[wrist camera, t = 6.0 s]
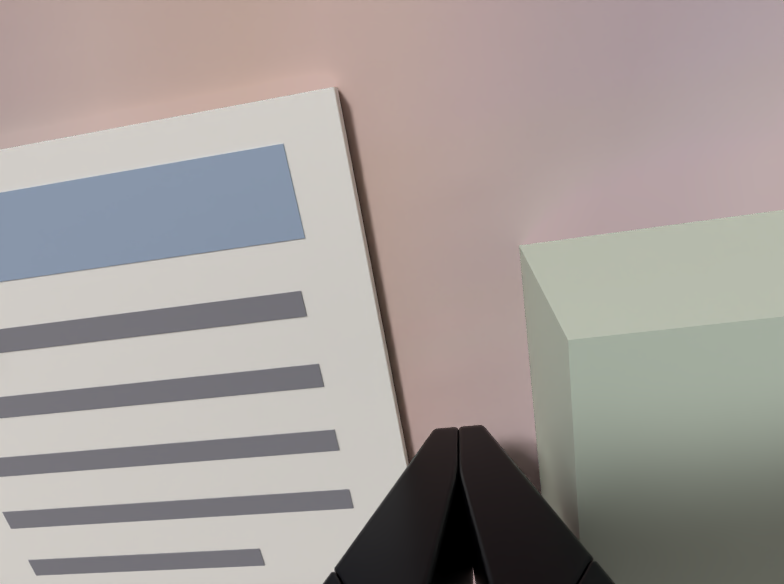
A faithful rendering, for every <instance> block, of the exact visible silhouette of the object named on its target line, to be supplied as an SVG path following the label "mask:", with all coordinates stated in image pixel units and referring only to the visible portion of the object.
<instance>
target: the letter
mask: <svg viewBox="0 0 784 584" xmlns="http://www.w3.org/2000/svg"><path fill="white" fill-rule="evenodd" d="M408 465H409V462H408V457H407V451H406V446H405V441H404V436H403V430H402V425H401V420H400V414H399V409H398V404H397V399H396V393H395V388H394V383H393V378H392V372H391V367H390V362H389V356H388V351H387V346H386V341H385V335H384V330H383V325H382V320H381V314H380V309H379V304H378V298H377V293H376V288H375V283H374V277H373V272H372V267H371V262H370V256H369V251H368V246H367V240H366V235H365V230H364V225H363V219H362V214H361V209H360V204H359V198H358V193H357V188H356V182H355V177H354V172H353V167H352V161H351V156H350V151H349V146H348V140H347V135H346V130H345V125H344V119H343V114H342V109H341V103H340V98H339V93H338V88H337V87H331V88H326V89H320V90H315V91H310V92H304V93H299V94H294V95H288V96H283V97H278V98H272V99H267V100H262V101H256V102H251V103H246V104H240V105H235V106H230V107H224V108H219V109H214V110H208V111H203V112H198V113H192V114H187V115H182V116H176V117H171V118H166V119H160V120H155V121H150V122H145V123H139V124H134V125H129V126H123V127H118V128H113V129H107V130H102V131H97V132H91V133H86V134H81V135H75V136H70V137H65V138H59V139H54V140H49V141H43V142H38V143H33V144H27V145H22V146H17V147H11V148H6V149H1V150H0V584H323V583H324V581H325V580H326V579H327V577H328V576H329V574H330V573H331V572H334V568H335V566H336V565H337V564H338V562H339V561H340V559H341V558H342V557H343V555H344V554H345V552H346V551H347V550H348V548H349V547H350V546H351V544H352V543H353V541H354V540H355V539H356V537H357V536H358V534H359V533H360V532H361V530H362V529H363V527H364V526H365V525H366V523H367V522H368V520H369V519H370V518H371V516H372V515H373V514H374V512H375V511H376V509H377V508H378V507H379V505H380V504H381V502H382V501H383V500H384V498H385V497H386V495H387V494H388V493H389V491H390V490H391V488H392V487H393V486H394V484H395V483H396V481H397V480H398V479H399V477H400V476H401V475H402V473H403V472H404V470H405V469H406V468H407V466H408Z"/></svg>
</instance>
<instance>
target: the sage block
mask: <svg viewBox="0 0 784 584" xmlns="http://www.w3.org/2000/svg"><path fill="white" fill-rule="evenodd" d="M519 250H520V261H521V272H522V284H523V295H524V306H525V317H526V329H527V340H528V351H529V362H530V374H531V385H532V396H533V407H534V419H535V430H536V441H537V452H538V464H539V475H540V486H541V495H542V497H543V498H544V499H545V500H546V501H547V503H548V504H549V505H550V506H551V507H552V509H553V510H554V511H555V512H556V513H557V515H558V516H559V517H560V518H561V519H562V521H563V522H564V523H565V524H566V525H567V527H568V528H569V529H570V530H571V531H572V533H573V534H574V535H575V536H576V537H577V539H578V540H579V541H580V542H581V543H582V545H583V546H584V547H585V548H586V549H587V551H588V552H589V553H590V554H591V555H592V557H593V559H594V561H596V562H598V563H599V565H600V566H601V567H602V568H603V570H604V571H605V572H606V573H607V574H608V576H609V577H610V578H611V579H612V580H613V582H614V583H615V584H784V210H779V211H771V212H764V213H756V214H749V215H742V216H734V217H727V218H719V219H712V220H705V221H697V222H690V223H682V224H675V225H668V226H660V227H653V228H645V229H638V230H631V231H623V232H616V233H608V234H601V235H594V236H586V237H579V238H571V239H564V240H557V241H549V242H542V243H534V244H527V245H520V246H519Z"/></svg>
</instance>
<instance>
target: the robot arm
mask: <svg viewBox="0 0 784 584" xmlns="http://www.w3.org/2000/svg"><path fill="white" fill-rule="evenodd" d="M473 570H474V576H475V581H476V584H615V583H614V582H613V580H612V579H611V578H610V577H609V576H608V574H607V573H606V572H605V571H604V570H603V568H602V567H601V566H600V565H599V563H598V562H596V561H594V559H593V557H592V555H591V554H590V553H589V552H588V551H587V549H586V548H585V547H584V546H583V545H582V543H581V542H580V541H579V540H578V539H577V537H576V536H575V535H574V534H573V533H572V531H571V530H570V529H569V528H568V527H567V525H566V524H565V523H564V522H563V521H562V519H561V518H560V517H559V516H558V515H557V513H556V512H555V511H554V510H553V509H552V507H551V506H550V505H549V504H548V503H547V501H546V500H545V499H544V498H543V497H542V495H541V494H540V493H539V492H538V491H537V489H536V488H535V487H534V486H533V485H532V483H531V482H530V481H529V480H528V479H527V477H526V476H525V475H524V474H523V473H522V471H521V470H520V469H519V468H518V466H517V465H516V464H515V463H514V462H513V460H512V459H511V458H510V457H509V456H508V454H507V453H506V452H505V451H504V450H503V448H502V447H501V446H500V445H499V444H498V442H497V441H496V440H495V439H494V438H493V436H492V435H491V434H490V433H489V432H488V430H487V429H486V428H485V427H484V426H482V425H475V426H463V427H461V428H459V430H458V428H456V427H451V428H438V429H435V430H433V431H432V433H431V434H430V436H429V437H428V438H427V440H426V441H425V443H424V444H423V445H422V447H421V448H420V449H419V451H418V452H417V454H416V455H415V456H414V458H413V459H412V461H411V462H410V463H409V465H408V466H407V468H406V469H405V470H404V472H403V473H402V475H401V476H400V477H399V479H398V480H397V481H396V483H395V484H394V486H393V487H392V488H391V490H390V491H389V493H388V494H387V495H386V497H385V498H384V500H383V501H382V502H381V504H380V505H379V507H378V508H377V509H376V511H375V512H374V514H373V515H372V516H371V518H370V519H369V520H368V522H367V523H366V525H365V526H364V527H363V529H362V530H361V532H360V533H359V534H358V536H357V537H356V539H355V540H354V541H353V543H352V544H351V546H350V547H349V548H348V550H347V551H346V552H345V554H344V555H343V557H342V558H341V559H340V561H339V562H338V564H337V565H336V566H335V568H334V572H331V573H330V574H329V576H328V577H327V579H326V580H325V581H324V583H323V584H473Z"/></svg>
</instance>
